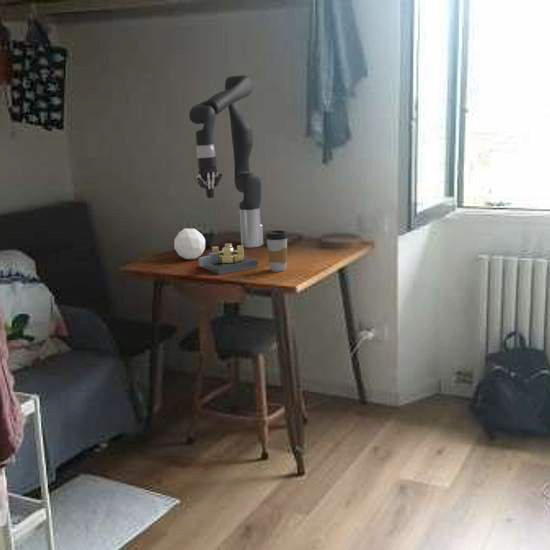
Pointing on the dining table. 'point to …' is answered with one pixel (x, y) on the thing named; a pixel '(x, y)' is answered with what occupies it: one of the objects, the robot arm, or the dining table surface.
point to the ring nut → (219, 258)
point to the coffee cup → (277, 250)
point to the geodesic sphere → (189, 243)
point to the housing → (232, 265)
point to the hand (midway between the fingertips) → (210, 197)
